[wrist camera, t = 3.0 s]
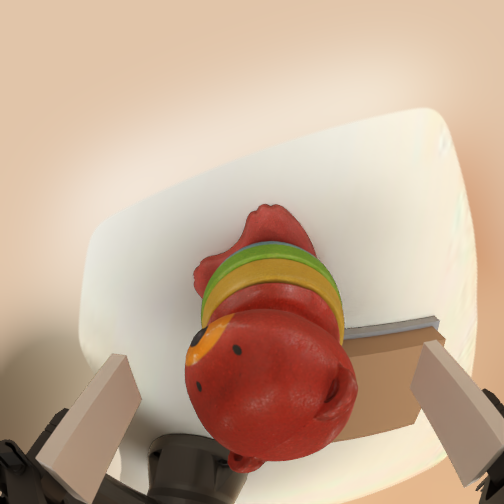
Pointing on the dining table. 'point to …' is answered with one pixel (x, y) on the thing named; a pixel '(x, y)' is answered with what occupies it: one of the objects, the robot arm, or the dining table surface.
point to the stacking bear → (269, 346)
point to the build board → (385, 374)
